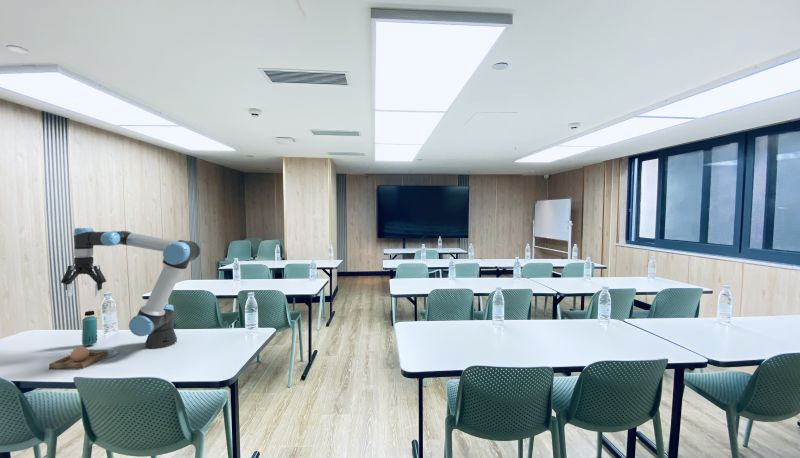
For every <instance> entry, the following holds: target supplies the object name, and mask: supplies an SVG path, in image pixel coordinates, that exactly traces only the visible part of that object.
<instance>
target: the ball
mask: <svg viewBox="0 0 800 458" xmlns="http://www.w3.org/2000/svg"><path fill="white" fill-rule="evenodd" d="M88 349H89V348H87V347H85V346H78V347H76V348H74V349H72V351H71V352H70V354H69V355H70V358H71V359H72V360H73V361H76V362H79V361H83V360H85V359H86V358H87V357H88V355H89V350H88Z"/></svg>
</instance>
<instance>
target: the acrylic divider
mask: <svg viewBox="0 0 800 458" xmlns="http://www.w3.org/2000/svg"><path fill="white" fill-rule="evenodd" d="M87 349H88V350H89V352H107V356H105V358H104V359H106V358H107V359H108V358H113V357H115V356H116V355H118V354H119V352H115V348H87Z"/></svg>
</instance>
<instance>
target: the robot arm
mask: <svg viewBox="0 0 800 458" xmlns="http://www.w3.org/2000/svg"><path fill="white" fill-rule="evenodd" d="M73 243H74V244H73V247H74V248H73V256H74V258H73V264H71V265H68V266H67V270H66V272H64V273H65V274H64V275H63V277H62V279H61V280H60V283H61V284H64V286H65V288H64V289H65V291H66V298H69V297H73V296H74V293H73V292H74V284H73V283H72V282H73V281H74V280H75V279H77V277H79V275H88V276H89V277H90V278H91V279H92V280H93V281H94V282H95V283H96V284H95V283H94V288H95V289H94V296H95V297H99V296H101V295H102V294H101V293H102V292H101V291H102V289H103V284H104V283H106V282H107V279H106V277H105V276H104V274H103V272H102V270H101V266H100V265H99V264H97V265H94V247H95V246H99V247H101V246H103V247H104V246H106V247H110V246H117V245H123V246H129V247H136V248H139V249H146V250H149V251H150V250H151V251H156V252H157V251H158V252H162V256H163V260H162V264H163V268H162V270H161V271H160V274H159V276H158V279H157V280H156V282H155V284H154V286H153V289H152V290H151V293H150V295H149V297H148V299H147V301H146V303H145V304H144V305H142V306H141V307H140V308H139V310H138V312H137V314H136V315H134V316H133V317H132V318H131V319H130V320H129V324H128V328H129V330H130V332H131V334H133V335H135V336H137V337H145V336H147V337H146V340H145V342H144V343H145V348H146V349H160V348H166V346H167V347H170V346H172V344H173V345H175V344H176V343H177V342H178V337H177V334H176V331H175V329H174V325H175V324H174V323H175V322H174V321H175V318H174V317H175V316H174V315H175V314H174V313H175V309H174V308H175V307H174V305H173V304H167V303H168V301H169V298H170V296H171V294H172V292H173V290H174V288H175V285H176V284H177V281H178V279H179V277H180V276H181V273H182V271H184V270H187V268H188V266H189V263H190V262H192V261H194V260H196V259H197V258H199V256H200V255H201V247H200V245H199V244H198V243H197V242H195V241H192V240H183V239H178V240H172V239H167V238H162V237H161V238H160V237H157V236H153V235H151V236H150V235H145V234H141V233H134V232H131V231H127V230H119V231H118V230H116V231H94V228H93V227H76V228H74V231H73ZM73 271H74V272H73ZM175 342H176V343H175ZM174 343H175V344H174ZM169 345H170V346H169Z"/></svg>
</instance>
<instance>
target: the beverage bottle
mask: <svg viewBox="0 0 800 458" xmlns="http://www.w3.org/2000/svg"><path fill="white" fill-rule="evenodd" d="M94 315H95V311H94V310H87V311H85V312H84V316H85V317H84V318H83V319H82V320H81V321H82V323H81V325H82V327H81V328H82V330H81V331H82V332H81V333H82V334H81V343H82V346H91V345H94V344H97V342H98V321H97V319H98V318H97V317H96V316H94Z"/></svg>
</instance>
